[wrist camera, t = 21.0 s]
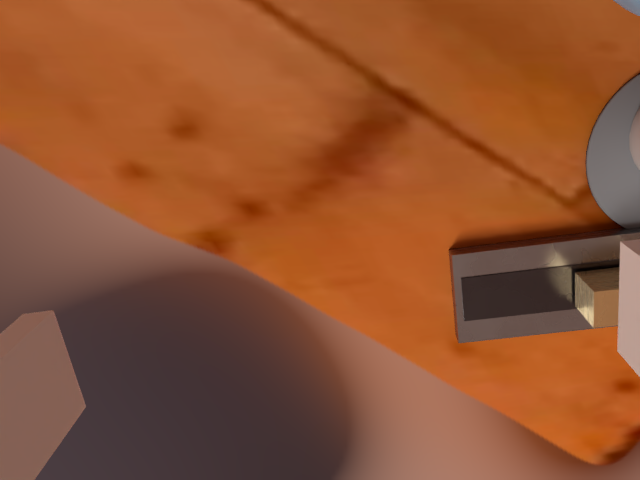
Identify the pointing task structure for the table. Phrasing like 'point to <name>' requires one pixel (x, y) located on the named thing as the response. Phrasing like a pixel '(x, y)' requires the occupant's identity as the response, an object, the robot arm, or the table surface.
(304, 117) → the table surface
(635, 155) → the cup
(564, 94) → the table surface
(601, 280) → the brass stepped block
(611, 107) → the coaster
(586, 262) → the lock plate
